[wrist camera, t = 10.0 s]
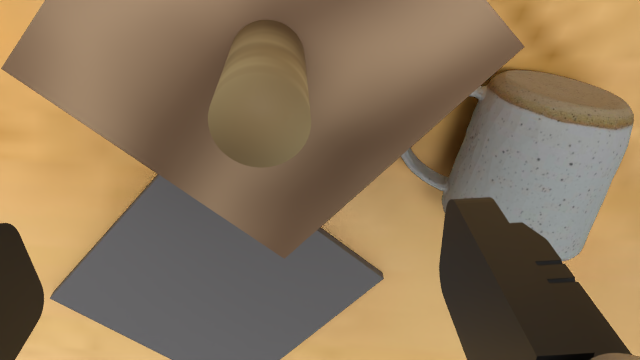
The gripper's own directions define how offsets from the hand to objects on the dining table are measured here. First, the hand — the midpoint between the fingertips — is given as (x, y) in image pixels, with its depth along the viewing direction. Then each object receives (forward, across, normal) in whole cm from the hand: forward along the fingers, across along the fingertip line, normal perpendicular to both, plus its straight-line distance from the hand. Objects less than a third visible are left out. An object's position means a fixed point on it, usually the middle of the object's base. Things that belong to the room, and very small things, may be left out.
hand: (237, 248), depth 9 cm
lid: (+12, 0, 0) cm, 12 cm away
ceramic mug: (+19, -12, +7) cm, 23 cm away
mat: (+18, +5, +17) cm, 25 cm away
